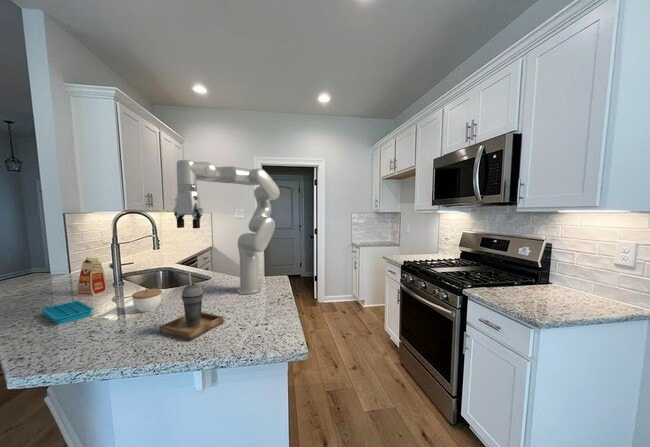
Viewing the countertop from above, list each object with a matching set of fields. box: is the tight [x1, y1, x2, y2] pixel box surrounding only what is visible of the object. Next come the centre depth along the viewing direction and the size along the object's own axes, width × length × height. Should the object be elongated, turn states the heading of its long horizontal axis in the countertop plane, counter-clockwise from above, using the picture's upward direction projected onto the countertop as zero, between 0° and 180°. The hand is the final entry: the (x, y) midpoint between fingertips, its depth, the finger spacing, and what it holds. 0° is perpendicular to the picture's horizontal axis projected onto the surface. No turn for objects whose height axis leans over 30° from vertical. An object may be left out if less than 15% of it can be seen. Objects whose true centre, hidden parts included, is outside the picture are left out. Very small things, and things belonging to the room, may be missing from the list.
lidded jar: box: [131, 287, 163, 313], centre depth 112 cm, size 11×11×9 cm
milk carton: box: [76, 256, 108, 297], centre depth 134 cm, size 9×9×20 cm
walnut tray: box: [159, 311, 225, 342], centre depth 95 cm, size 15×15×2 cm
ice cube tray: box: [41, 300, 94, 325], centre depth 107 cm, size 12×20×3 cm, turn 59°
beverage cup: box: [181, 271, 204, 327], centre depth 95 cm, size 7×7×20 cm
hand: (188, 228), depth 112 cm, fingers open, 9 cm apart
